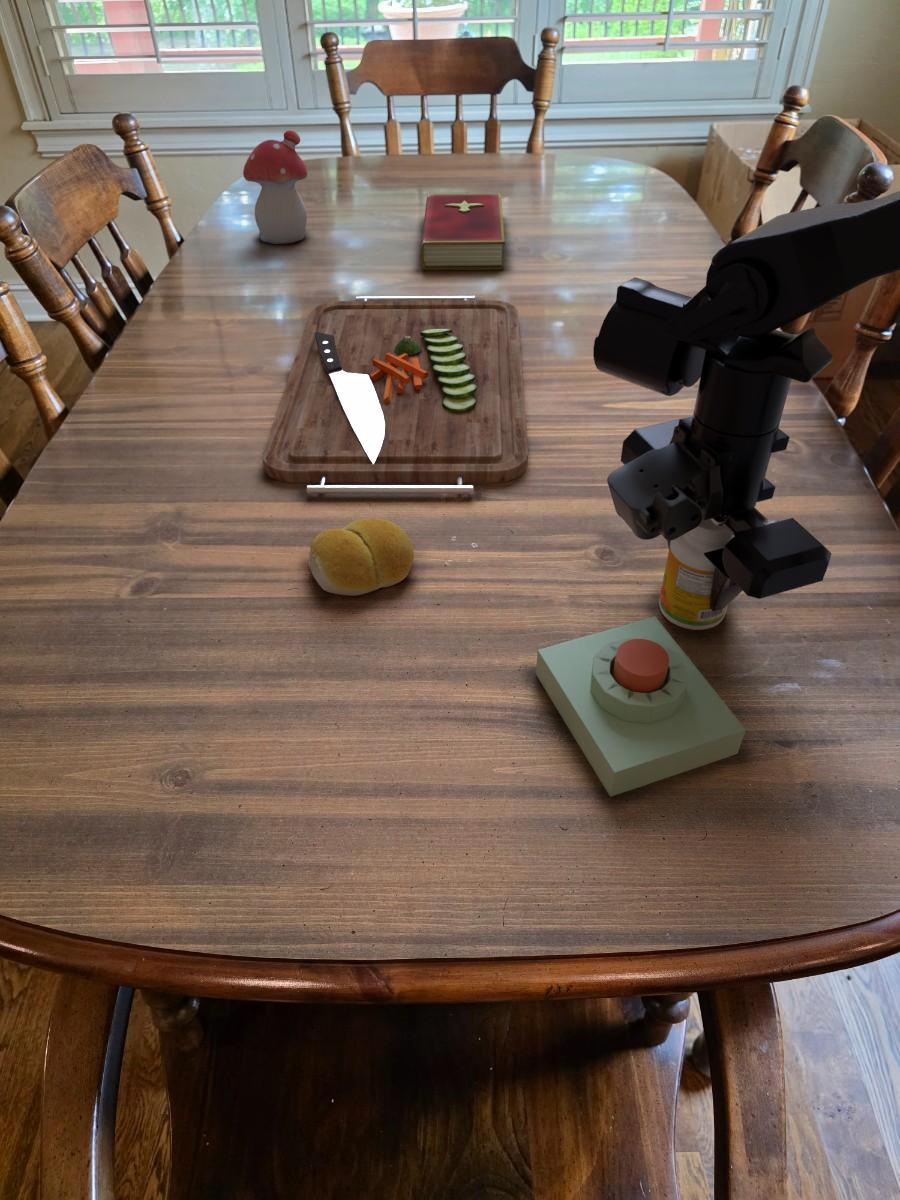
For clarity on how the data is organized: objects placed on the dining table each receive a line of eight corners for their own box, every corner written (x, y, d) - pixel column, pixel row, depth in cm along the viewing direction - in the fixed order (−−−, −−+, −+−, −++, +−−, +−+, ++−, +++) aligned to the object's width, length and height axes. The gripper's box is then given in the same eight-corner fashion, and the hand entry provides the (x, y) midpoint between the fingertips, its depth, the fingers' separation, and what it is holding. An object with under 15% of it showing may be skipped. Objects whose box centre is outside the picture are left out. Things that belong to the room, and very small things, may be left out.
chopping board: (530, 497, 83) (531, 470, 81) (253, 497, 84) (248, 470, 82) (515, 302, 117) (516, 279, 115) (317, 303, 117) (315, 281, 115)
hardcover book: (421, 270, 125) (419, 240, 123) (426, 219, 141) (425, 192, 138) (504, 269, 125) (504, 239, 122) (500, 219, 141) (501, 191, 138)
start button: (648, 650, 62) (652, 632, 61) (675, 685, 60) (679, 667, 59) (604, 663, 62) (606, 646, 60) (629, 699, 59) (632, 681, 58)
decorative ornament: (316, 230, 138) (304, 126, 128) (312, 245, 133) (299, 138, 123) (257, 231, 138) (241, 127, 128) (251, 246, 133) (233, 139, 123)
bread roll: (429, 577, 75) (427, 541, 72) (332, 611, 72) (327, 574, 69) (389, 526, 80) (387, 490, 78) (298, 555, 78) (292, 519, 75)
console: (650, 640, 69) (658, 598, 66) (737, 754, 60) (752, 712, 57) (535, 674, 66) (538, 632, 63) (610, 797, 58) (617, 755, 55)
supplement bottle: (671, 580, 74) (690, 486, 68) (733, 600, 72) (759, 505, 66) (648, 617, 71) (666, 522, 64) (713, 640, 69) (738, 544, 62)
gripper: (569, 375, 64) (555, 542, 74) (710, 517, 51) (669, 695, 61) (700, 349, 67) (669, 513, 77) (866, 477, 54) (801, 654, 64)
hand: (696, 586), depth 70 cm, fingers closed on supplement bottle, 5 cm apart
